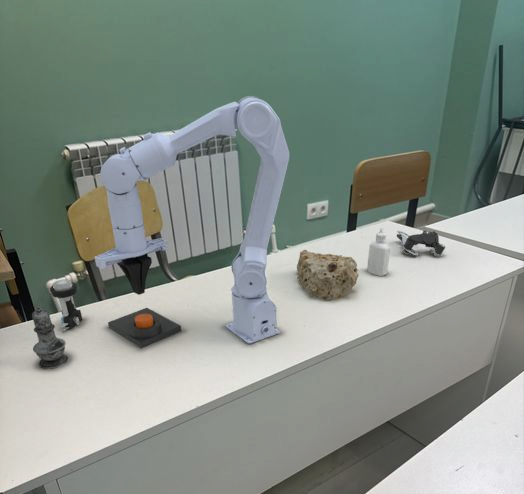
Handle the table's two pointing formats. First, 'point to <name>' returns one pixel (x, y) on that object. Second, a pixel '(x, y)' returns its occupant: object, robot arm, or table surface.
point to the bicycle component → (420, 242)
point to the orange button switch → (144, 335)
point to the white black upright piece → (67, 303)
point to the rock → (326, 274)
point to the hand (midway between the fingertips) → (139, 292)
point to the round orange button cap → (144, 321)
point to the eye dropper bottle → (378, 255)
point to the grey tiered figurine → (48, 341)
